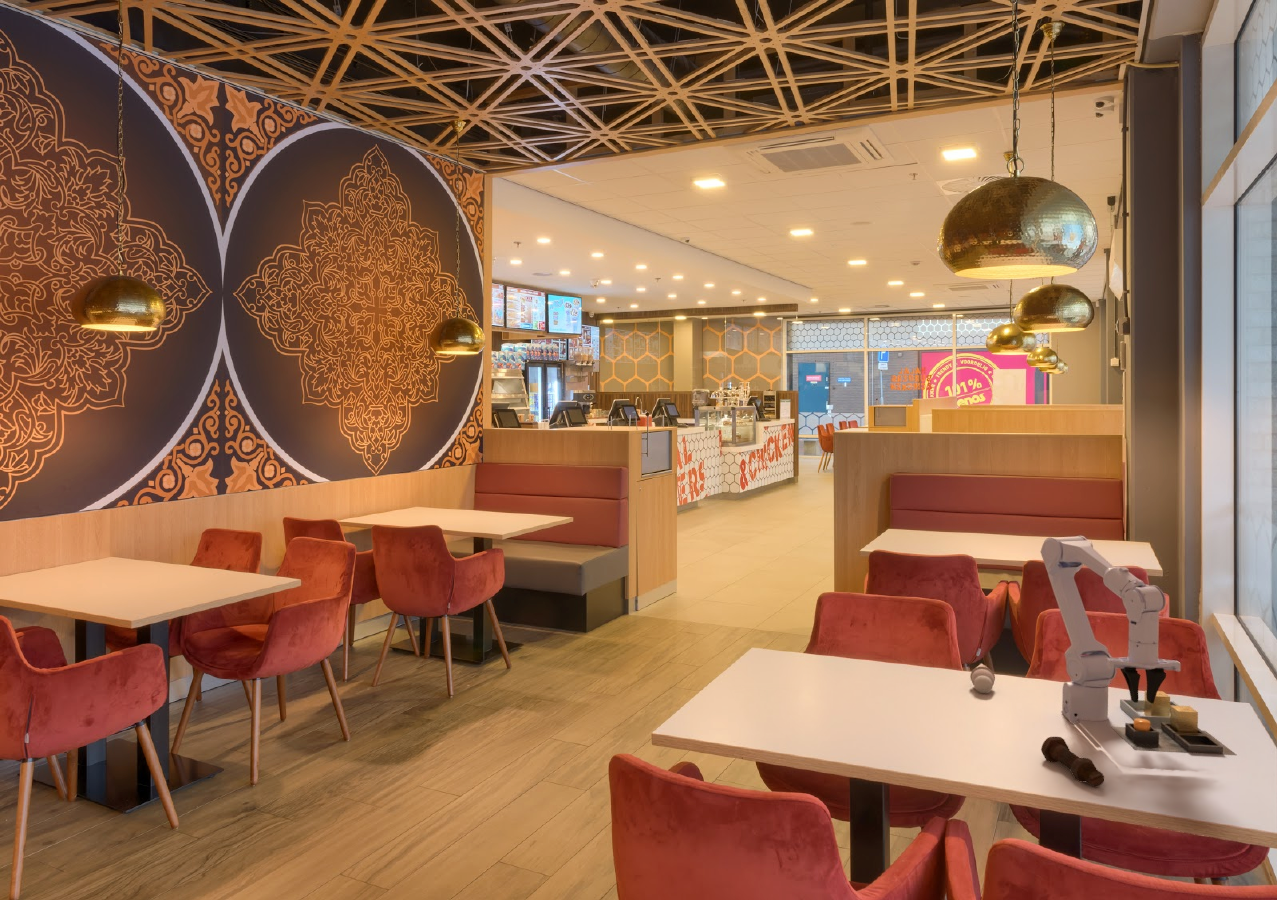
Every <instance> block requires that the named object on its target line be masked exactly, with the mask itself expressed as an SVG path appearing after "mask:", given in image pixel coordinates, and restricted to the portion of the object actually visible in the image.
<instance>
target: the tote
mask: <svg viewBox="0 0 1277 900" xmlns="http://www.w3.org/2000/svg"><path fill="white" fill-rule="evenodd" d="M1144 702H1145V699H1138V703H1135V702H1133V701H1132V700H1131V699H1127V698H1126V699H1122V698H1121V699H1119V708H1120V709H1121V710H1122V711H1123V712H1124V713H1125V714H1127V715H1128V716H1129V717H1130V718H1131V719H1132V720H1134V719H1137V718H1140V719H1146V720H1148V721H1150V725H1151V726H1152V727H1155V726H1156V727H1161V723H1170V717H1161V716H1146V715H1141V714H1140V713H1139V712H1138V711H1136V709H1137V710H1144ZM1170 705H1174V706H1180V705H1179V704H1178V703H1176V702H1175V701H1174V700H1173V701H1171V700H1170Z"/></svg>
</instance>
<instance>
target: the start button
mask: <svg viewBox="0 0 1277 900" xmlns="http://www.w3.org/2000/svg"><path fill="white" fill-rule="evenodd" d="M1133 723H1134V729H1135V730H1136V731H1150V721H1148V720H1146V719H1140V718H1137V719H1133Z"/></svg>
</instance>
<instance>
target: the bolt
mask: <svg viewBox="0 0 1277 900" xmlns="http://www.w3.org/2000/svg"><path fill="white" fill-rule="evenodd" d="M1040 750H1041V754H1042V755H1043V757H1044V758H1045V760H1046V761H1048V762H1049V763H1060V764H1061V765H1063V766H1064V767H1065V768H1067V769H1068V770H1070V772H1071V774H1072V776H1073V778H1074V779H1075V780H1076V779H1077V780H1076V781H1078V782H1080V781H1082V782H1081V783H1084V782H1083V781H1086V783H1087V784H1089V785H1090V786H1091V787H1095V788H1097V787H1100V786H1101V785H1102V784H1103V783H1104V782H1105V775H1104V773H1102V772H1101V771H1099V770H1098V769H1097V767H1096V765H1095V763H1094V762H1093V761H1092V759H1090V758H1089V757H1079V756H1078V755H1077V754H1075V753H1073V752H1072V751H1071V750H1070V748H1069V745H1068V744H1067V742H1066V741H1065V738H1063V737H1062V736H1049V737H1047V738H1046V739H1045V740H1044V741H1043V743H1042V745H1041V749H1040Z"/></svg>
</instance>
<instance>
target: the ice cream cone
mask: <svg viewBox="0 0 1277 900" xmlns="http://www.w3.org/2000/svg"><path fill="white" fill-rule="evenodd" d="M969 675H970V676H969V677H970V678H969V679H970V681H971V683H972V685H973V686H974V689H975V690H976V691H977V692H978V693H980V694H982V695H983V694H988V693H990V692H991V691H992V690H993V686H994V684H995V682H996V681H995V680H996V676H995V674H994V672H993V670H992V669H990V668H989V667H987V665H985V664H983V663H979V665H978V666H976V667H975V668H973V669H972V670H971V672H970V674H969Z"/></svg>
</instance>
